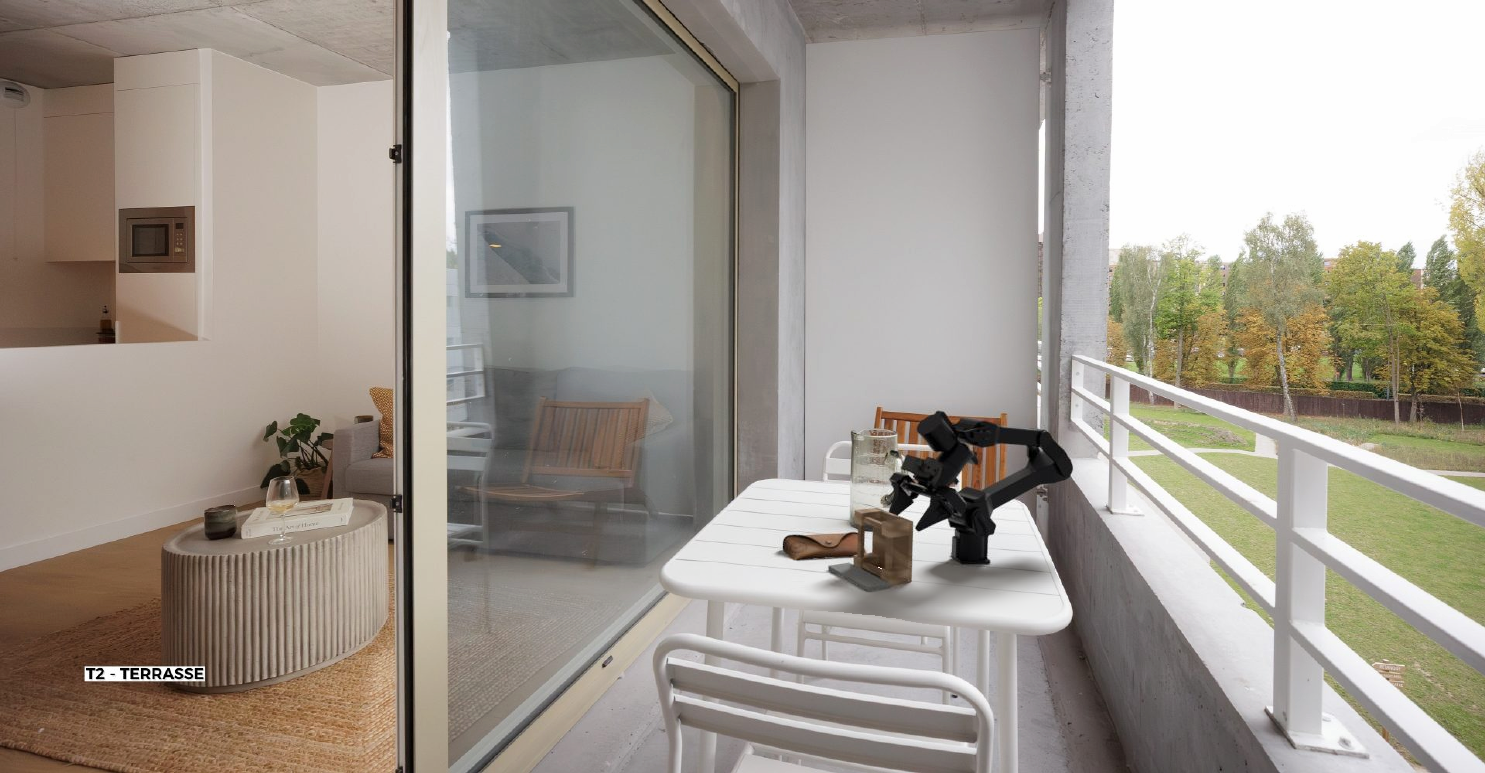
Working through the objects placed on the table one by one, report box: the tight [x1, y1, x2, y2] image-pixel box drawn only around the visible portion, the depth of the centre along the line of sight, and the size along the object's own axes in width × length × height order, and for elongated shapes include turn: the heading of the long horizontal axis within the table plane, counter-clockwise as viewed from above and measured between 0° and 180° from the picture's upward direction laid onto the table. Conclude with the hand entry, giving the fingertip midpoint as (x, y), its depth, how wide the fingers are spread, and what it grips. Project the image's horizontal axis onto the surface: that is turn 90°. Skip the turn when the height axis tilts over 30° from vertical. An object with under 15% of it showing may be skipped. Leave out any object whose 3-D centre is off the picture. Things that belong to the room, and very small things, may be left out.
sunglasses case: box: [782, 531, 867, 561], centre depth 170 cm, size 18×7×7 cm, turn 103°
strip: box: [827, 562, 891, 592], centre depth 153 cm, size 5×14×1 cm, turn 26°
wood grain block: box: [852, 507, 914, 586], centre depth 155 cm, size 6×12×12 cm, turn 26°
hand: (902, 524), depth 157 cm, fingers open, 9 cm apart
